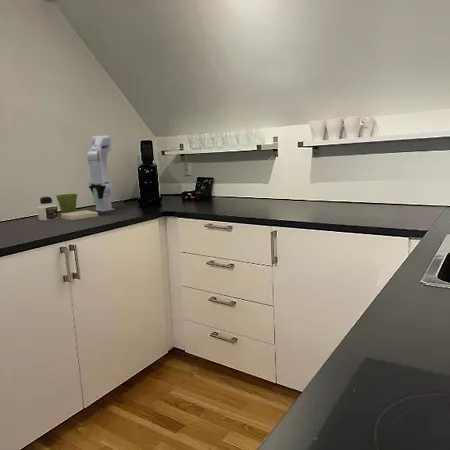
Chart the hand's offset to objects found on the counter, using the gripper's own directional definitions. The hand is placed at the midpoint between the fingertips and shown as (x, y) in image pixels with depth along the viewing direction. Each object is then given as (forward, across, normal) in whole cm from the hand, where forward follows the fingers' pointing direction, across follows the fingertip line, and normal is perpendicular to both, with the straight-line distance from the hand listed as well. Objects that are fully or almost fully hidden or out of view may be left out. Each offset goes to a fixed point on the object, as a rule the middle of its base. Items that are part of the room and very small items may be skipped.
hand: (98, 198), depth 243 cm
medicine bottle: (+9, -11, -24) cm, 28 cm away
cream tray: (+9, 0, -12) cm, 15 cm away
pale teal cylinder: (+2, 0, 0) cm, 2 cm away
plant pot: (+9, -17, -10) cm, 22 cm away
